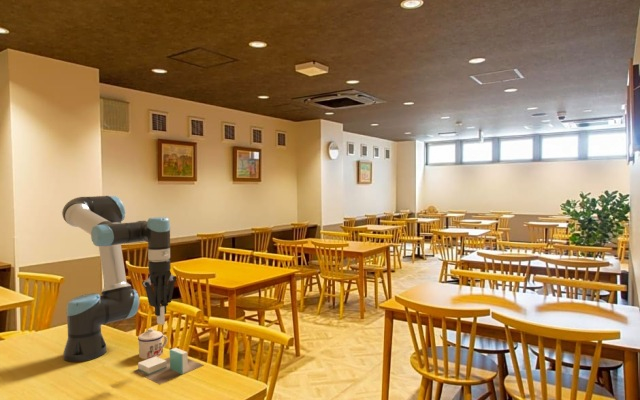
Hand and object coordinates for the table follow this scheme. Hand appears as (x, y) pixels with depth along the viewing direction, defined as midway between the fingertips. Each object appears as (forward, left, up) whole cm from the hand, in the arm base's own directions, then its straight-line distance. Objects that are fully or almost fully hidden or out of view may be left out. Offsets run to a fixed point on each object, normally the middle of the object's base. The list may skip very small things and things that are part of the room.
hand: (160, 323), depth 155 cm
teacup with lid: (-12, +4, -17) cm, 21 cm away
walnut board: (+5, 0, -17) cm, 18 cm away
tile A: (0, -1, -14) cm, 14 cm away
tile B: (+9, +1, -15) cm, 18 cm away
